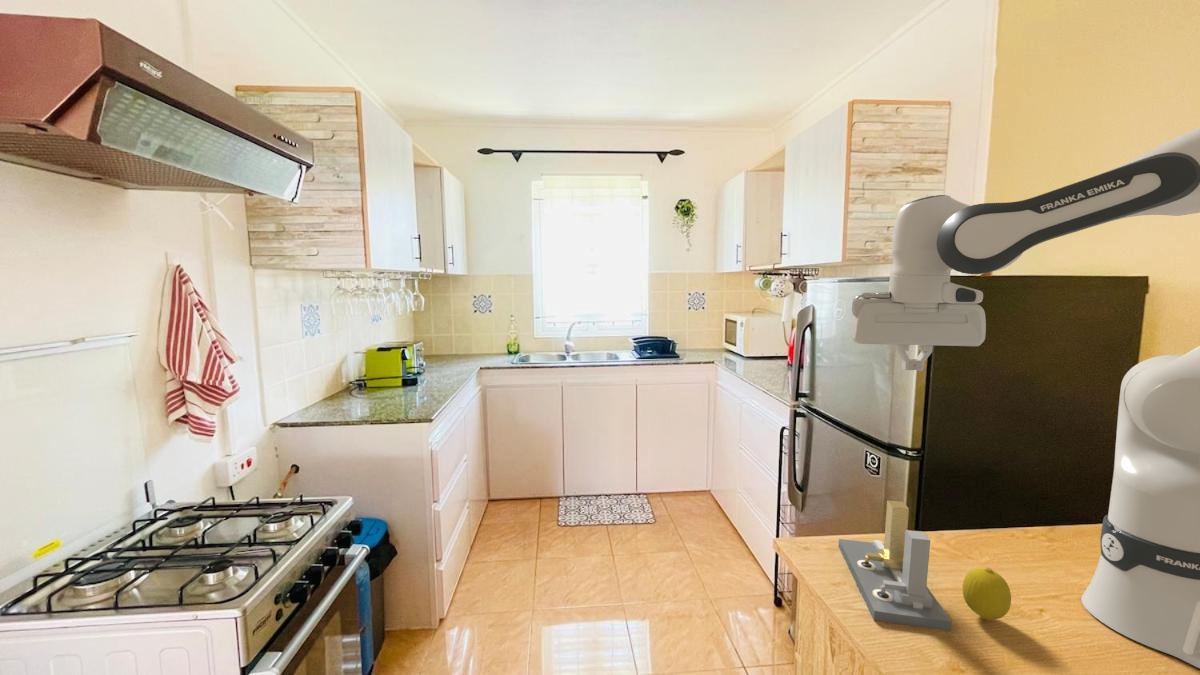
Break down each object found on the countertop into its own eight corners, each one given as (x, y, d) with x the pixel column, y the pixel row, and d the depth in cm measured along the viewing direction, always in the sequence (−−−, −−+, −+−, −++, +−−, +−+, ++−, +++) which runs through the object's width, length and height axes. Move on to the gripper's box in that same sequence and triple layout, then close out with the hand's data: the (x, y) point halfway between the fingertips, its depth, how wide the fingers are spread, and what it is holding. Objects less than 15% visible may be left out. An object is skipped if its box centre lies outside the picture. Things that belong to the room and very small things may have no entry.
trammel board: (897, 552, 87) (901, 491, 85) (950, 631, 67) (957, 552, 66) (838, 546, 89) (841, 485, 87) (873, 620, 70) (879, 544, 68)
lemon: (1017, 634, 66) (1023, 582, 66) (973, 629, 68) (978, 577, 67) (993, 608, 72) (998, 559, 71) (952, 603, 73) (957, 555, 72)
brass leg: (903, 562, 80) (907, 501, 79) (910, 573, 77) (915, 509, 76) (862, 557, 82) (865, 497, 80) (867, 567, 79) (871, 505, 78)
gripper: (858, 292, 82) (854, 370, 83) (994, 292, 77) (987, 375, 79) (848, 292, 88) (844, 364, 90) (974, 291, 83) (967, 368, 85)
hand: (912, 369), depth 84 cm, fingers closed
